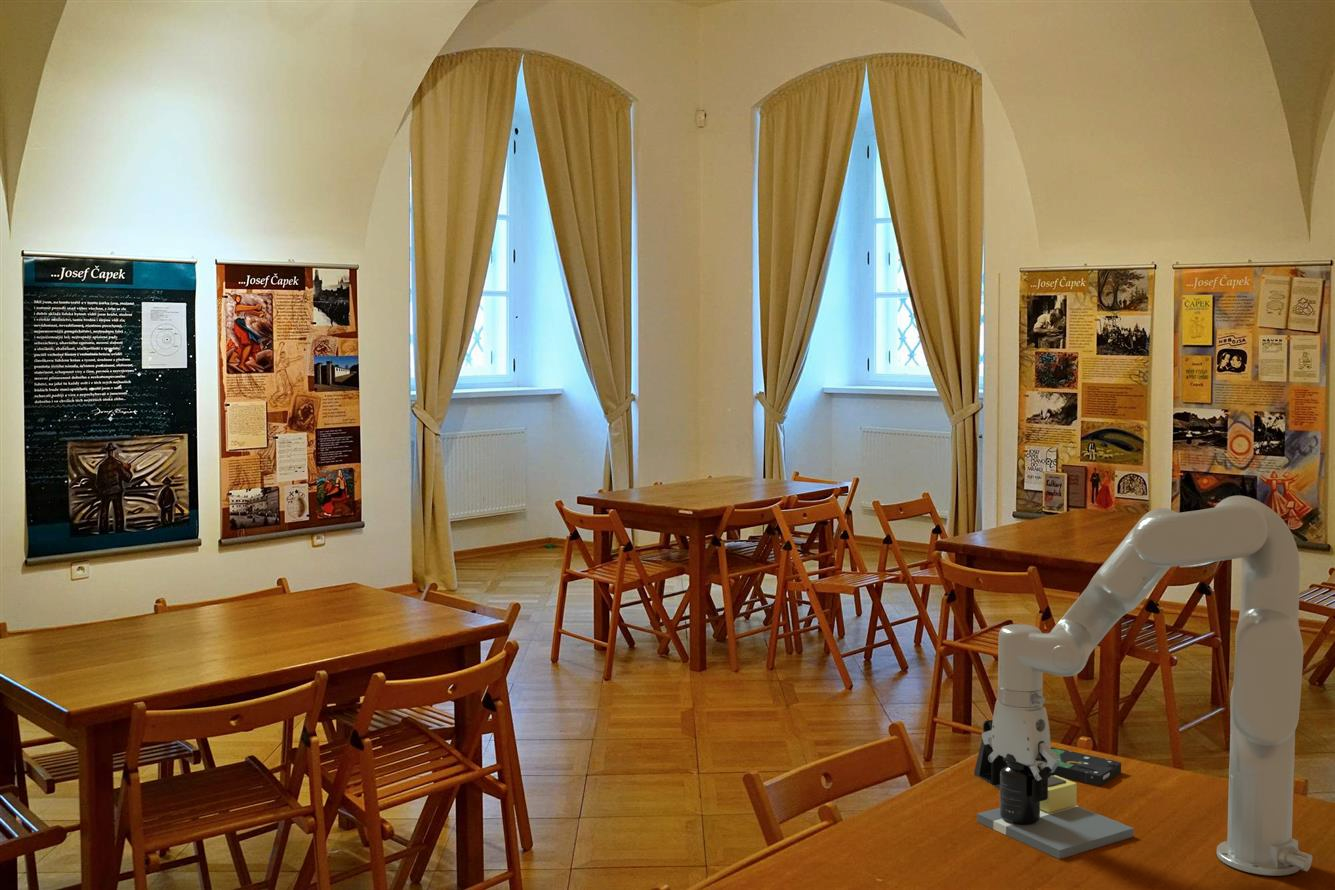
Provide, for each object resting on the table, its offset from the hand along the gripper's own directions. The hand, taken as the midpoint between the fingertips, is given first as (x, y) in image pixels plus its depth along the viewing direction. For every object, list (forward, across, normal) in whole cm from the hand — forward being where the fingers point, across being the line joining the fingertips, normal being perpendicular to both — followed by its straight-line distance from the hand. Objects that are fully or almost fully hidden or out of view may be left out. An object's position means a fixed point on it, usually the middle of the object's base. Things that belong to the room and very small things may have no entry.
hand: (1018, 791), depth 222 cm
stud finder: (+4, +1, -10) cm, 11 cm away
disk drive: (+7, +15, -31) cm, 35 cm away
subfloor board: (+6, -4, -4) cm, 9 cm away
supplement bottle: (+5, 0, 0) cm, 5 cm away
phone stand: (+7, +19, -14) cm, 25 cm away
